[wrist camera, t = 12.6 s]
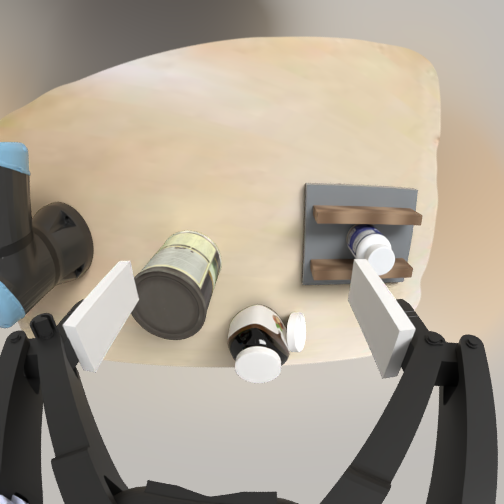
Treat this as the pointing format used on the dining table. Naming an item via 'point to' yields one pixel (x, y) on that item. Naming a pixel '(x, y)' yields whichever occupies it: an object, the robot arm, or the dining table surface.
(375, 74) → the dining table surface
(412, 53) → the dining table surface
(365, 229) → the pill bottle
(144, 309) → the coffee can
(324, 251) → the plate
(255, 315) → the spread jar
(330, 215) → the wooden rail pair
